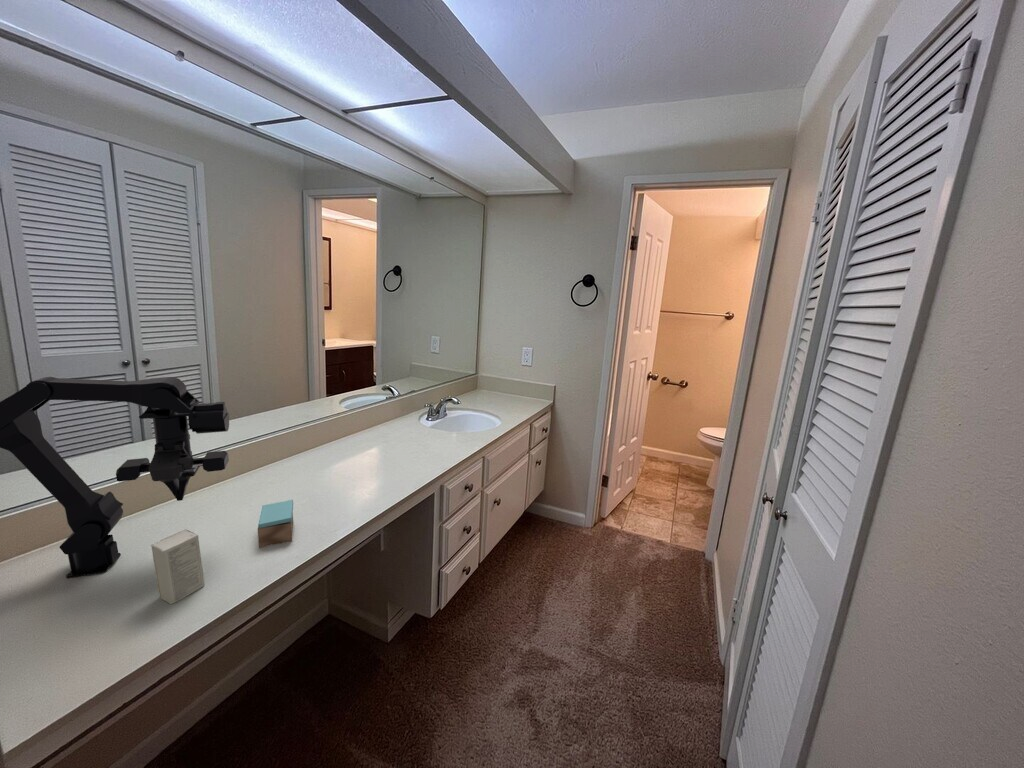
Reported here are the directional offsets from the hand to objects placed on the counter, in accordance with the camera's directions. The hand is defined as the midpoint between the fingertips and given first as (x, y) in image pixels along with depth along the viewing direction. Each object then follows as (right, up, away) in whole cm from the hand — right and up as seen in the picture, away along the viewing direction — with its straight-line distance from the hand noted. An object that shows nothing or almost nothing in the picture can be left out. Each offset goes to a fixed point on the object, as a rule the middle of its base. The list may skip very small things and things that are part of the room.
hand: (180, 499), depth 92 cm
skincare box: (+8, -16, -10) cm, 21 cm away
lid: (+16, -7, +10) cm, 20 cm away
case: (+16, -12, +11) cm, 23 cm away
